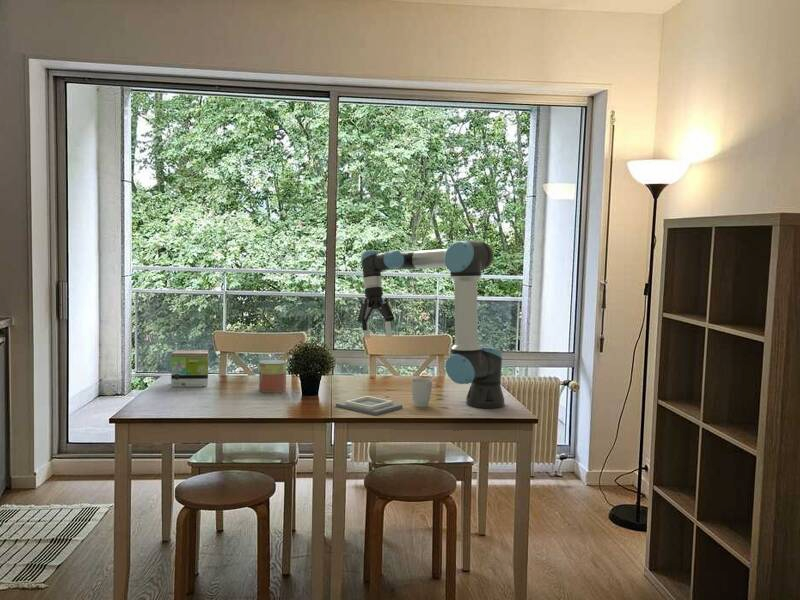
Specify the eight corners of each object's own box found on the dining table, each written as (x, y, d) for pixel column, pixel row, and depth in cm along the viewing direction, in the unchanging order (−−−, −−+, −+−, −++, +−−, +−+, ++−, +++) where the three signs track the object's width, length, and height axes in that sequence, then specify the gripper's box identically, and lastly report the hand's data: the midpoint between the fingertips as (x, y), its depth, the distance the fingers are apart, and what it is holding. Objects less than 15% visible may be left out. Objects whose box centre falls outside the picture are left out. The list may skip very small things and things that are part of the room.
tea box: (171, 387, 312) (170, 353, 310) (172, 383, 322) (172, 349, 320) (208, 387, 315) (208, 352, 314) (208, 382, 325) (208, 348, 324)
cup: (431, 403, 294) (432, 379, 293) (430, 408, 286) (431, 383, 285) (411, 403, 295) (412, 378, 294) (409, 407, 287) (410, 382, 286)
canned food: (258, 387, 317) (258, 359, 316) (285, 386, 320) (285, 359, 319) (259, 392, 306) (259, 364, 305) (286, 392, 309) (287, 363, 308)
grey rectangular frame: (402, 407, 286) (402, 401, 286) (375, 415, 273) (375, 408, 273) (363, 399, 298) (363, 393, 298) (335, 406, 285) (335, 400, 285)
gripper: (386, 288, 325) (391, 336, 323) (346, 288, 306) (351, 339, 304) (399, 286, 320) (404, 335, 318) (359, 285, 301) (364, 338, 299)
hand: (378, 337), depth 311 cm, fingers open, 13 cm apart
